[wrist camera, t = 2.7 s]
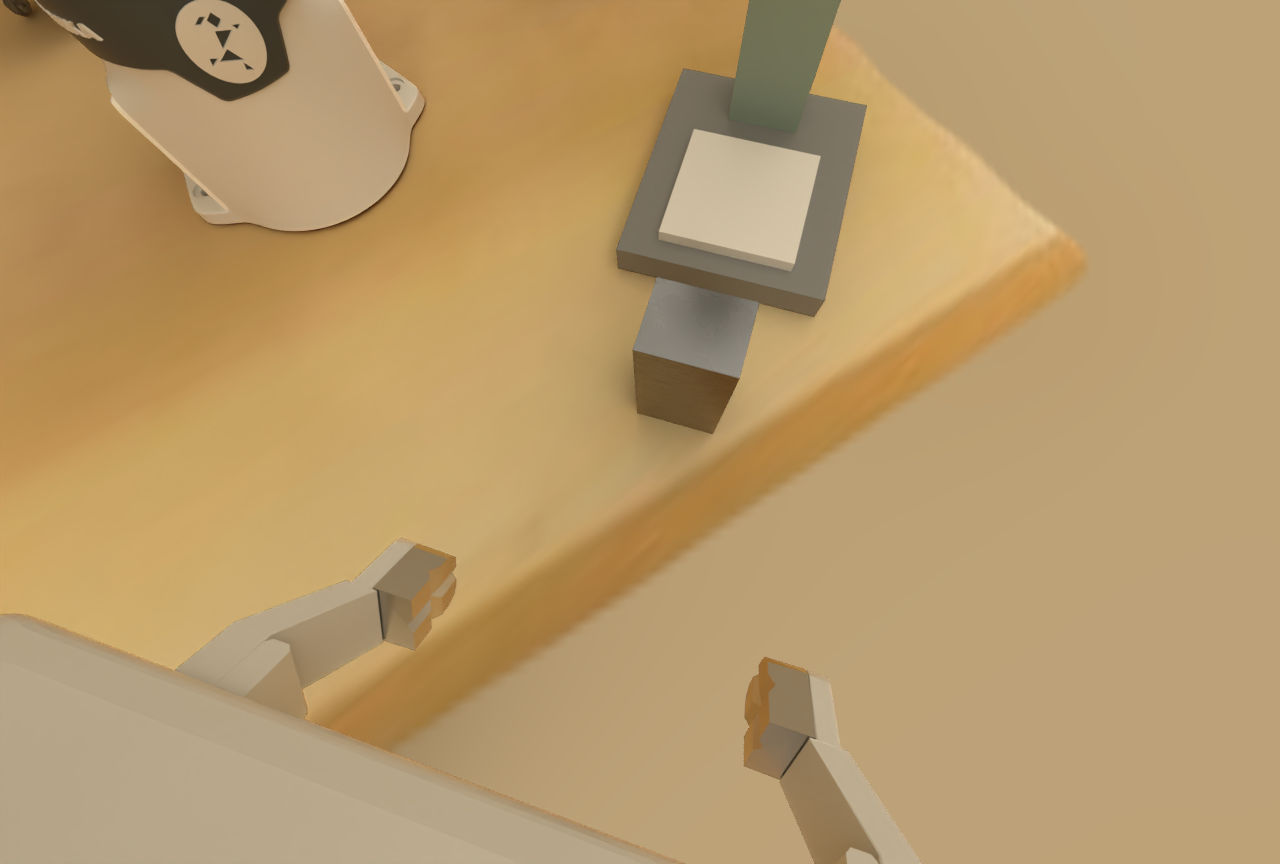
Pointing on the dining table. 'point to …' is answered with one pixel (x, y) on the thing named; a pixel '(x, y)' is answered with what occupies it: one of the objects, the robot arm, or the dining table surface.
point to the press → (751, 170)
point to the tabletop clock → (19, 6)
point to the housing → (690, 353)
